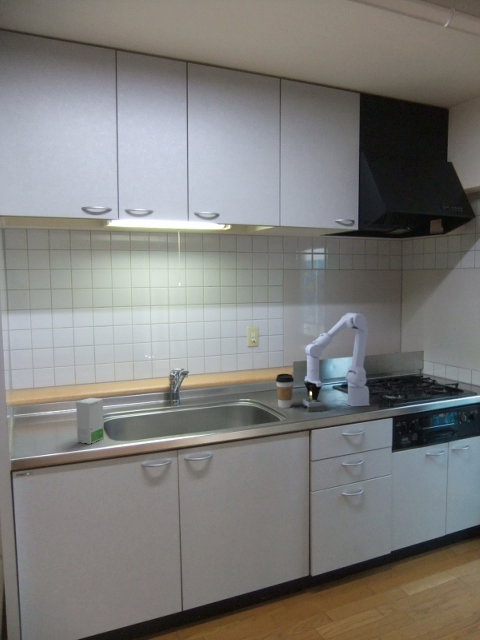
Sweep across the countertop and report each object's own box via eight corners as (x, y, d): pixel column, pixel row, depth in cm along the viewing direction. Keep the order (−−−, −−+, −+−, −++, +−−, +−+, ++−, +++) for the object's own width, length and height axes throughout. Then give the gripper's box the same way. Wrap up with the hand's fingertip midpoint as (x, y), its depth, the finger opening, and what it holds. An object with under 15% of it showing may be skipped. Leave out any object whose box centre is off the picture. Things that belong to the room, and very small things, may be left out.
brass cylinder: (314, 401, 227) (314, 390, 226) (318, 403, 224) (318, 391, 223) (307, 402, 225) (307, 390, 225) (311, 404, 222) (312, 392, 221)
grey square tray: (317, 405, 229) (317, 398, 229) (323, 409, 222) (324, 401, 221) (302, 406, 227) (302, 399, 227) (308, 411, 220) (308, 403, 219)
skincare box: (90, 445, 177) (88, 403, 176) (76, 442, 180) (74, 401, 179) (105, 438, 185) (103, 398, 184) (91, 435, 188) (90, 396, 186)
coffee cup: (294, 404, 231) (294, 373, 230) (291, 409, 223) (291, 377, 222) (277, 403, 234) (277, 373, 232) (274, 408, 226) (274, 376, 224)
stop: (325, 409, 222) (325, 404, 222) (326, 410, 221) (326, 405, 221) (307, 411, 220) (307, 406, 219) (308, 412, 219) (308, 406, 218)
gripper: (299, 367, 229) (299, 395, 230) (311, 373, 215) (311, 403, 216) (312, 366, 231) (312, 394, 232) (325, 372, 217) (325, 402, 218)
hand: (312, 398), depth 224 cm, fingers closed on brass cylinder, 4 cm apart
